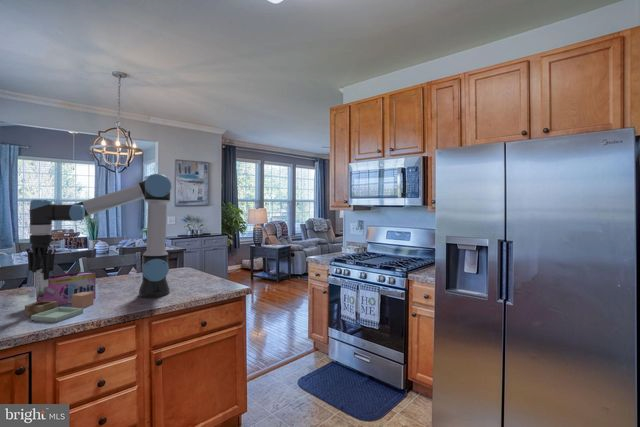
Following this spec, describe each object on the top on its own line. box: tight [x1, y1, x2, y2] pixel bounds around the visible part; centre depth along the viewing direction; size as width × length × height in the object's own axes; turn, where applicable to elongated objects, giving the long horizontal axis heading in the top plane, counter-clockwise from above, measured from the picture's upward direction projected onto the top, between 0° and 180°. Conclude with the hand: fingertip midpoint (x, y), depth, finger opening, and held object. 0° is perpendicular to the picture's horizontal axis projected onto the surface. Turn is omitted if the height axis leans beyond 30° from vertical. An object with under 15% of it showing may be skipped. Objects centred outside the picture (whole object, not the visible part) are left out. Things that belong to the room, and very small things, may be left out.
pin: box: [35, 268, 46, 298], centre depth 146 cm, size 3×3×12 cm
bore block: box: [24, 300, 59, 317], centre depth 147 cm, size 8×8×4 cm
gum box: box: [34, 270, 97, 306], centre depth 164 cm, size 24×8×14 cm, turn 142°
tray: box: [30, 306, 84, 323], centre depth 143 cm, size 13×13×2 cm
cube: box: [71, 292, 95, 309], centre depth 158 cm, size 6×6×6 cm
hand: (41, 286), depth 146 cm, fingers closed on pin, 3 cm apart
